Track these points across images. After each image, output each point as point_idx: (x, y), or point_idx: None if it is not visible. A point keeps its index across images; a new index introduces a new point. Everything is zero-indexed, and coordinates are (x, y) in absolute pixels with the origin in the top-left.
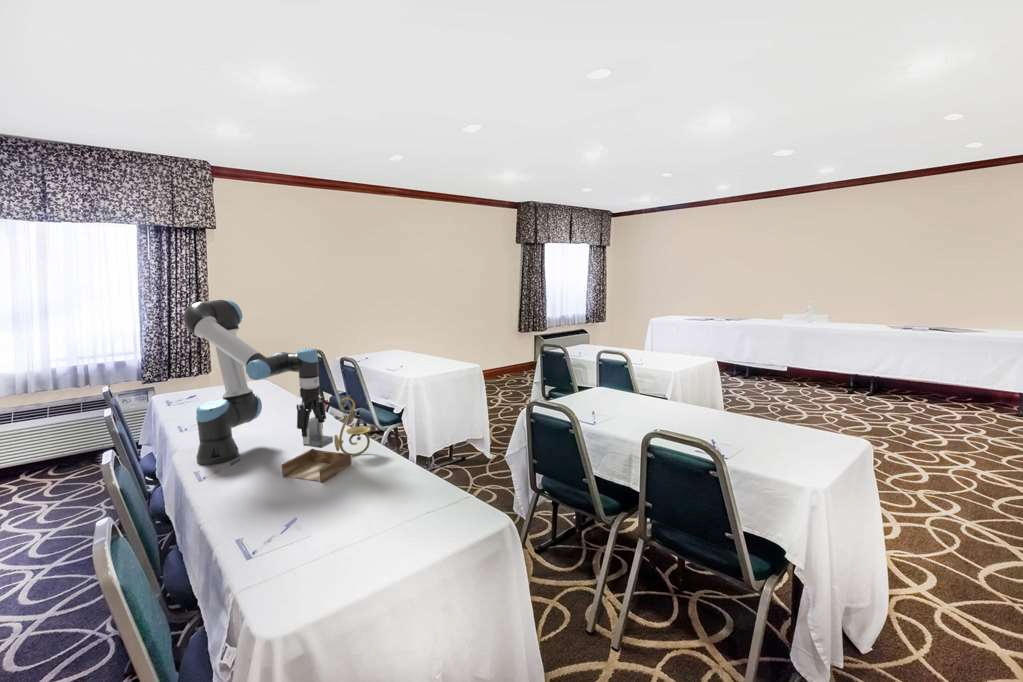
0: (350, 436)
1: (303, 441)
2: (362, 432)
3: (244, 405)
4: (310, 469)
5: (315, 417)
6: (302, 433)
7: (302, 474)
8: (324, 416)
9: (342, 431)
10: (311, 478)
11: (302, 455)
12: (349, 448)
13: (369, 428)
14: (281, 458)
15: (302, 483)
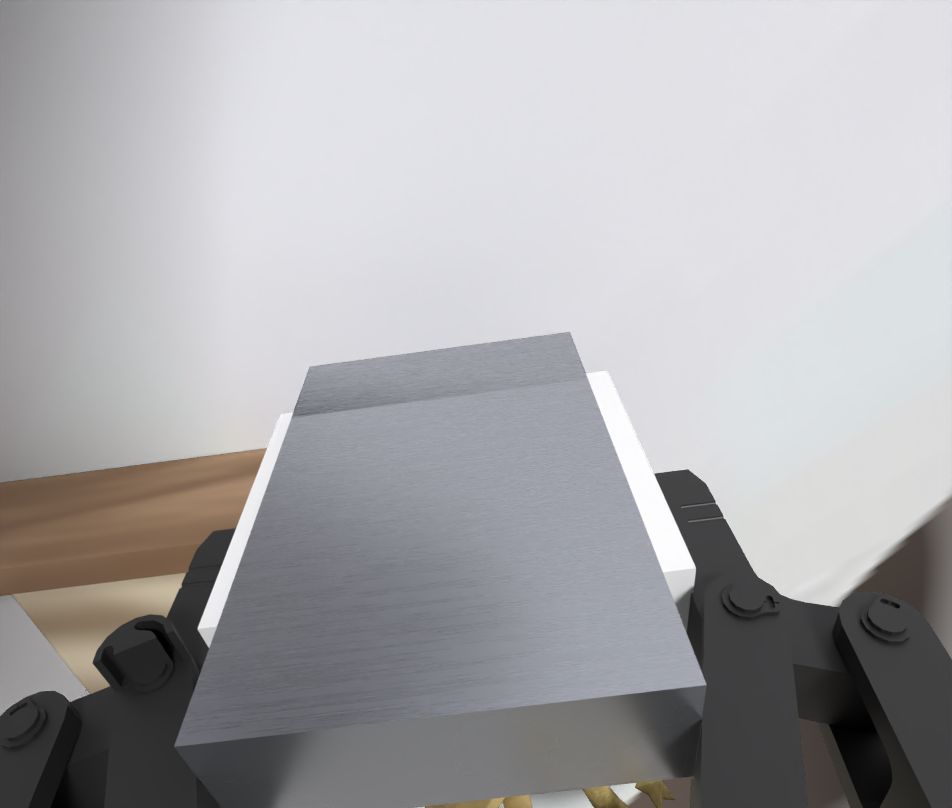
0: (597, 805)
1: (273, 442)
2: None
3: None
4: (175, 578)
5: (678, 732)
6: (186, 599)
7: (76, 595)
8: (855, 762)
9: None
10: (93, 680)
11: (118, 578)
12: (717, 500)
13: None
14: (129, 10)
15: (18, 668)
